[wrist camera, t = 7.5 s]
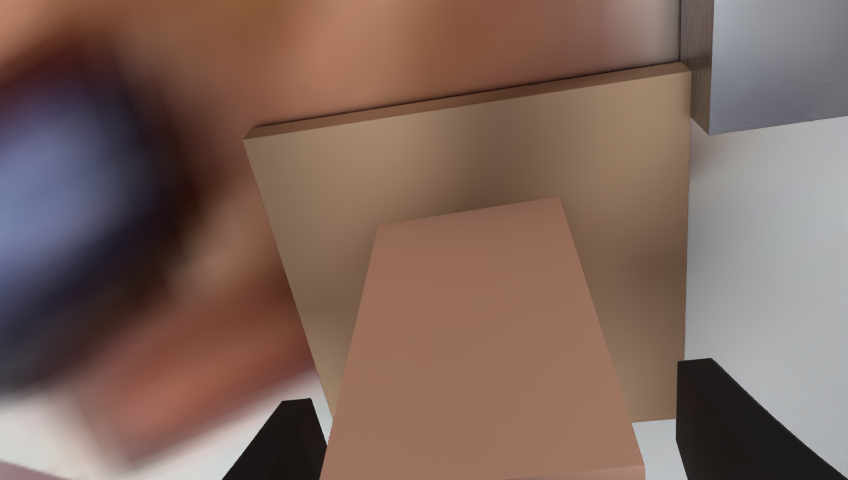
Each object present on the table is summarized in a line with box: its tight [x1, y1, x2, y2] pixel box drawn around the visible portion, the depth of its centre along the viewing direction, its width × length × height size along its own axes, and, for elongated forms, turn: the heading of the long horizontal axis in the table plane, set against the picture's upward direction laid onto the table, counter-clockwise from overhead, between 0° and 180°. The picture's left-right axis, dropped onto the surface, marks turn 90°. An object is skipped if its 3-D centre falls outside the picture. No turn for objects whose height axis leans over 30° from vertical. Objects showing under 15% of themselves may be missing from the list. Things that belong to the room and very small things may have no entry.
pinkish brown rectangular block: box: [320, 196, 645, 480], centre depth 13 cm, size 4×4×8 cm
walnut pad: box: [243, 62, 692, 423], centre depth 17 cm, size 10×10×1 cm
